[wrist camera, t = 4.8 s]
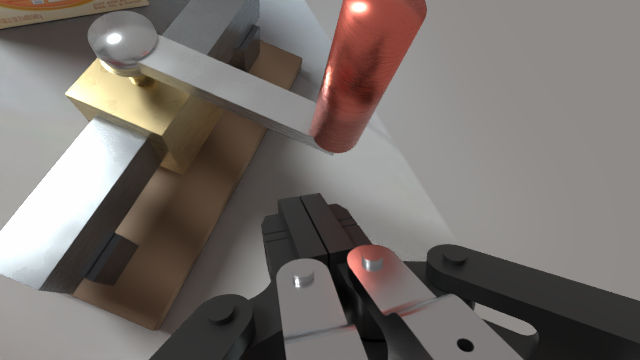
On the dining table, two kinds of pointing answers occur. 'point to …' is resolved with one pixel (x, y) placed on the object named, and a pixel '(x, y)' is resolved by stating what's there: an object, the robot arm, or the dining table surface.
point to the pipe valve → (121, 156)
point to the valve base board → (185, 209)
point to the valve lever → (266, 98)
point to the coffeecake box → (57, 9)
